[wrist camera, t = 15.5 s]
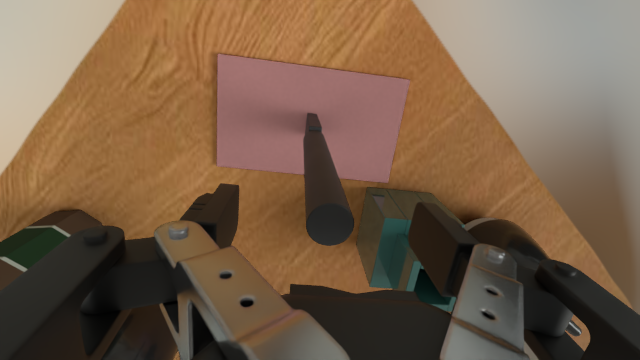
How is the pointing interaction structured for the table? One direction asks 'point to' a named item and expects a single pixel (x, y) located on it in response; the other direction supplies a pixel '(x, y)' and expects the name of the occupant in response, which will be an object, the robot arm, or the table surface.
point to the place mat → (291, 113)
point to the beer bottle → (39, 241)
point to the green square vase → (396, 244)
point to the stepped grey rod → (323, 190)
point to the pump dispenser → (512, 246)
